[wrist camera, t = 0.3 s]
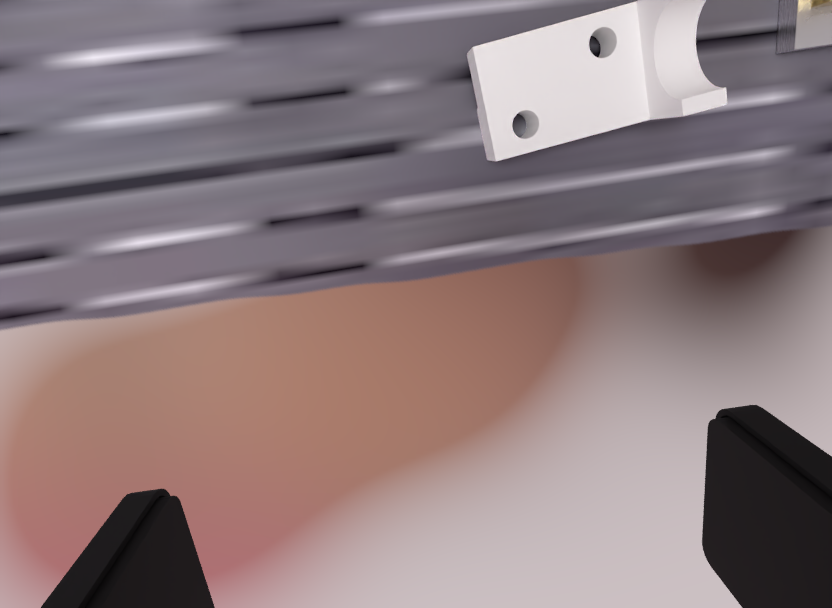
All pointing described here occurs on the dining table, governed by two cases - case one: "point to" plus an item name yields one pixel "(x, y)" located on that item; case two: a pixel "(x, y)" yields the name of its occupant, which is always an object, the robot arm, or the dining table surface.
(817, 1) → the wooden crate cube
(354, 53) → the dining table surface
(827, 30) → the white flat board
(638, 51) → the bracket
